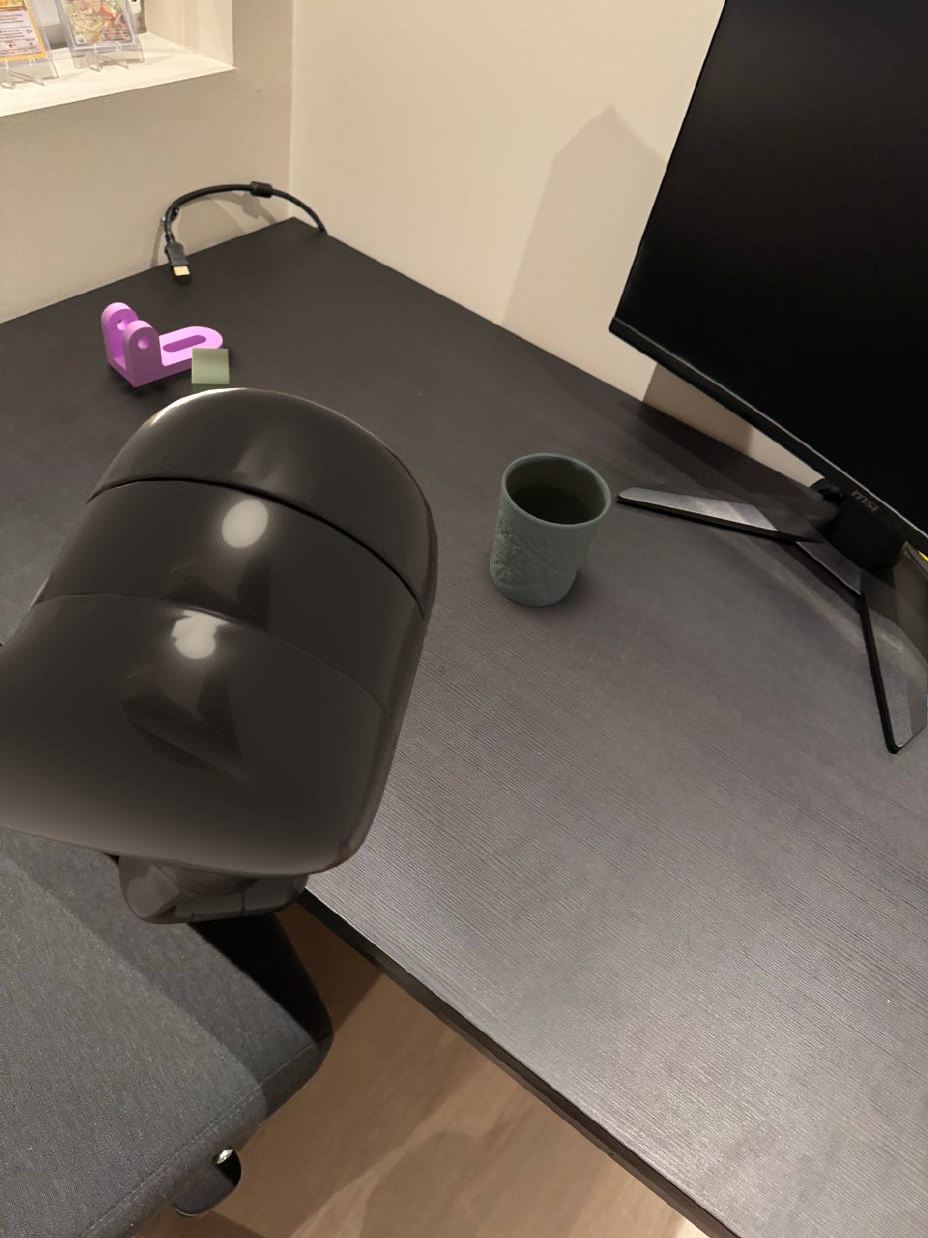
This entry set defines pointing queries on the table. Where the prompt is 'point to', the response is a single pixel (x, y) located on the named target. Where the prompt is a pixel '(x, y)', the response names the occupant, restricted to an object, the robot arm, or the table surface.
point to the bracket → (150, 346)
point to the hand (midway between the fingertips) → (209, 480)
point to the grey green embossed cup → (545, 526)
